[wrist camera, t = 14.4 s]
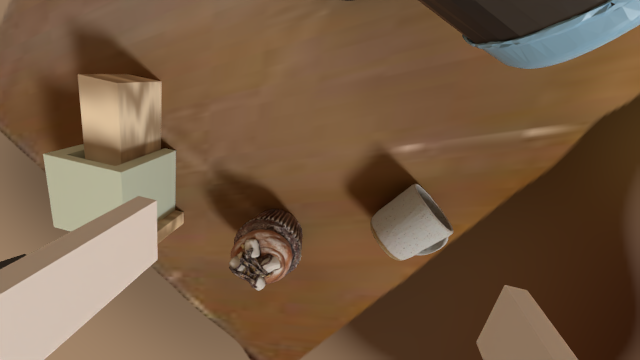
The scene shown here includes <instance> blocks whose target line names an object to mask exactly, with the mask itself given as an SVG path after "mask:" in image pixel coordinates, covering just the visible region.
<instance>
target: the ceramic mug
mask: <svg viewBox="0 0 640 360" xmlns="http://www.w3.org/2000/svg"><path fill="white" fill-rule="evenodd" d="M370 226H371V231H372V233H373V236H374V238H375V239H376V241H377V243H378V244H379V245H380V247H381V248H382V249H383V250H384V252H385V253H387V254H388V255H389V256H390V257H391V258H393V259H395V260H399V261H401V260H405V259H408V258H410V257H412V256H414V255H427V254H430V253H433V252H435V251H437V250H439V249H441V248H442V247H443V246H444V245H445V244H446V243H447V241H448V236H450V235H451V234H453V228H452V226H451V224H450V222H449V221H448V219H447V218H446V216H445V215H444V213H443V212H442V210H441V209H440V208H439V206H438V205H437V204H436V203H435V201H434V200H433V199H432V197H431V196H430V195H429V194H428V193H427V192H426V191H425V190H424V189H423V188H422V187H421V186H420V185H418V184H413V185H411V186H410V187H409V188H408V189H406V190H405V191H404V192H402V193H401V194H400V195H398V196H397V197H396V198H395V199H393V200H392V201H391V202H389V203H388V204H387V205H386V206H384V207H383V208H381V209H380V210H379V211H378V212H377V213H376V214H375V215H374V216H373V217H372V219H371V222H370Z"/></svg>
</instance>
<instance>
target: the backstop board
mask: <svg viewBox="0 0 640 360" xmlns="http://www.w3.org/2000/svg"><path fill="white" fill-rule="evenodd" d="M183 223H184V212H181V211H177V210H174V211H173V212H172V213H170V214H169V215H167V216H166V217H164V218H163V219H162V220H160V221H159V222H157V244H158V243H159V242H161V241H162V240H163V239H164V238H166V237H167V236H168V235H169V234H171V233H172V232H173V231H174V230H176V229H177V228H178V227H179V226H180V225H182V224H183Z"/></svg>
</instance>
